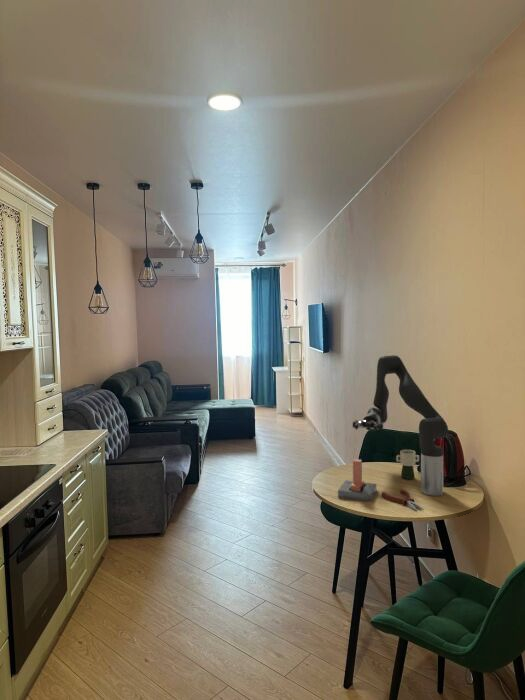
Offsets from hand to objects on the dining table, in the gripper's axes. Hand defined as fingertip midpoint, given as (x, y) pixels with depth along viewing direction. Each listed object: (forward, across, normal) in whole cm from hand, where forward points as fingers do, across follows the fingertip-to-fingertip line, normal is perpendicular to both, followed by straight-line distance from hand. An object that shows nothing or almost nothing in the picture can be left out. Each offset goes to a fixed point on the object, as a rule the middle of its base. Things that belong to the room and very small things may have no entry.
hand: (365, 427), depth 217 cm
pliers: (+20, +19, +27) cm, 38 cm away
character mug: (-13, +18, +26) cm, 34 cm away
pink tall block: (+17, 0, +26) cm, 31 cm away
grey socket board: (+17, 0, +26) cm, 31 cm away
